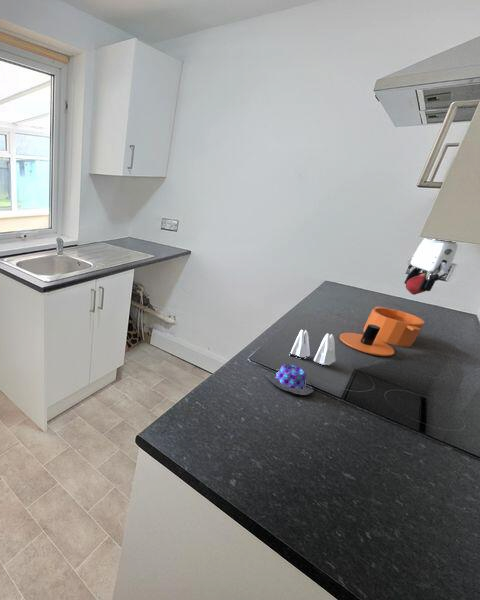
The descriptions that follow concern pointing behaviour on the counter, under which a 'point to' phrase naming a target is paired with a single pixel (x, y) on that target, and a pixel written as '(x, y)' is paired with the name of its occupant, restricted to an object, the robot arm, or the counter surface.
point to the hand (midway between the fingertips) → (416, 286)
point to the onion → (415, 284)
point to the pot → (395, 326)
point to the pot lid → (367, 342)
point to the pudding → (291, 376)
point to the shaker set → (324, 352)
